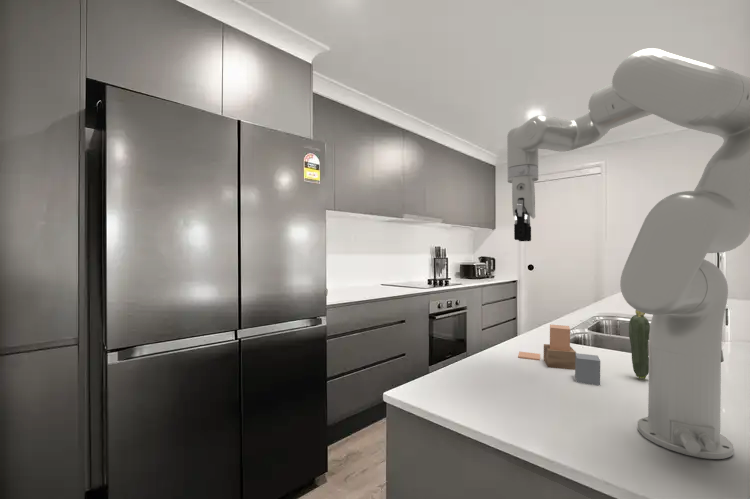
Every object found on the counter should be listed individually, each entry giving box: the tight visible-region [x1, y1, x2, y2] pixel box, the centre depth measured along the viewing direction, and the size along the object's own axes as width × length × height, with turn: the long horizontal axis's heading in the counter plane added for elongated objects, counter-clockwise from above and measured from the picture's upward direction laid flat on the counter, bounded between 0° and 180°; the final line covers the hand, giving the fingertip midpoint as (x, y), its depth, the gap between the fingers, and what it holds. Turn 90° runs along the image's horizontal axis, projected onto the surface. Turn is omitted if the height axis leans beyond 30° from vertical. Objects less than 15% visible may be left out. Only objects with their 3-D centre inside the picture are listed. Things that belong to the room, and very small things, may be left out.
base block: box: [543, 343, 577, 371], centre depth 104 cm, size 7×7×5 cm
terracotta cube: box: [549, 323, 571, 351], centre depth 105 cm, size 5×5×6 cm
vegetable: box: [628, 309, 651, 379], centre depth 93 cm, size 4×4×20 cm
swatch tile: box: [517, 351, 541, 361], centre depth 112 cm, size 6×6×1 cm
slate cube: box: [574, 352, 601, 386], centre depth 92 cm, size 5×5×6 cm
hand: (523, 240), depth 96 cm, fingers open, 9 cm apart
